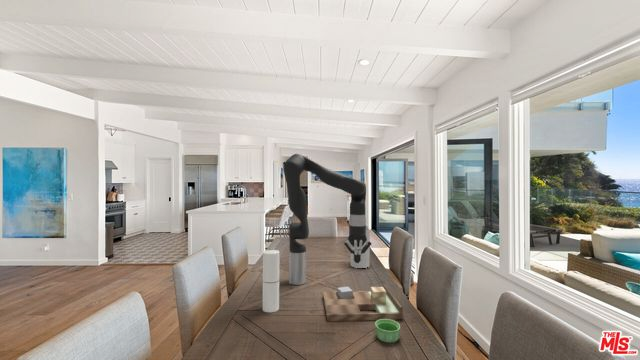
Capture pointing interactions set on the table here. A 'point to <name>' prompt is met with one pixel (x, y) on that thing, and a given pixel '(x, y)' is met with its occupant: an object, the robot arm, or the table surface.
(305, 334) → the table surface
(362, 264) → the cylinder vase
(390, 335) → the ramekin
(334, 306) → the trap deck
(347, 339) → the table surface
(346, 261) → the table surface
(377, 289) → the maple cube
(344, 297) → the trapped grey cube
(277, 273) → the cylindrical container
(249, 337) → the table surface
